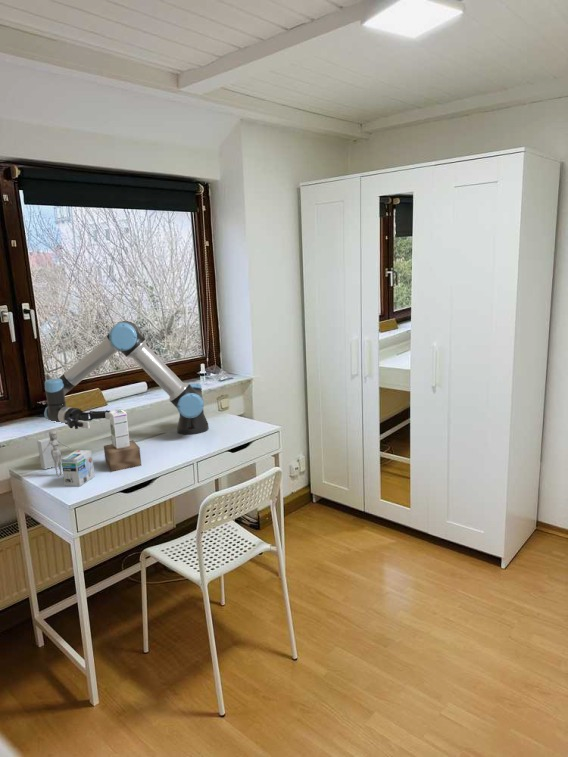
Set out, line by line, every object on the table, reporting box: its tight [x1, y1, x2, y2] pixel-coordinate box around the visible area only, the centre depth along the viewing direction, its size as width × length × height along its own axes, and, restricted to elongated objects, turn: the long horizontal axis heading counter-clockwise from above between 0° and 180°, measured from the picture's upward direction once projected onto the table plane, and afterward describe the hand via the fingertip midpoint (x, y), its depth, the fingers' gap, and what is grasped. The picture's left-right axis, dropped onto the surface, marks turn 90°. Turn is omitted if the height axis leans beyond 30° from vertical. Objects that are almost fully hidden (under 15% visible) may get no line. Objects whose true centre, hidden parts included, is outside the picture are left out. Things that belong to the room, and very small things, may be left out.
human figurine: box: [39, 430, 72, 477], centre depth 222 cm, size 12×4×18 cm, turn 131°
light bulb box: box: [60, 449, 96, 487], centre depth 214 cm, size 11×7×11 cm, turn 168°
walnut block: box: [103, 439, 142, 473], centre depth 230 cm, size 12×12×8 cm
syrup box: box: [109, 409, 130, 449], centre depth 228 cm, size 6×6×14 cm
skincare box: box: [36, 436, 59, 470], centre depth 233 cm, size 6×4×12 cm
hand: (102, 421), depth 233 cm, fingers open, 13 cm apart
